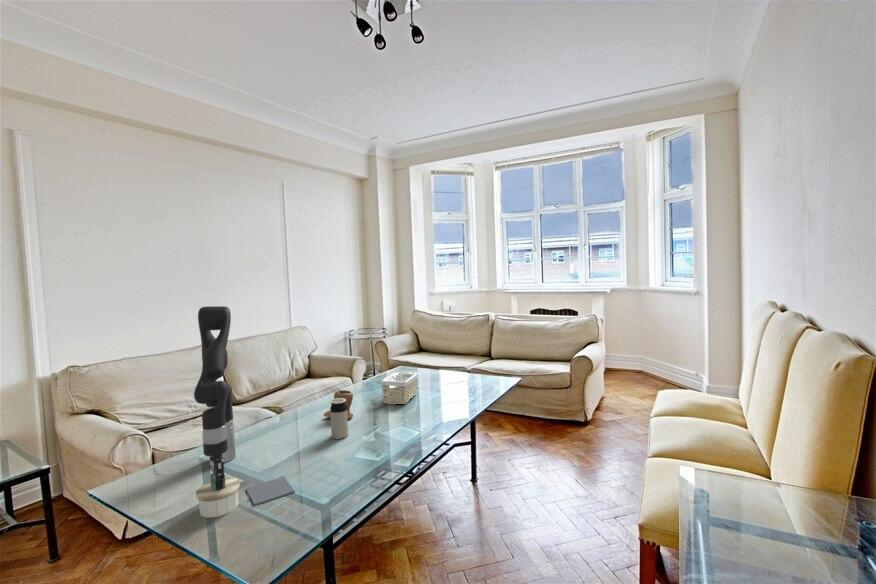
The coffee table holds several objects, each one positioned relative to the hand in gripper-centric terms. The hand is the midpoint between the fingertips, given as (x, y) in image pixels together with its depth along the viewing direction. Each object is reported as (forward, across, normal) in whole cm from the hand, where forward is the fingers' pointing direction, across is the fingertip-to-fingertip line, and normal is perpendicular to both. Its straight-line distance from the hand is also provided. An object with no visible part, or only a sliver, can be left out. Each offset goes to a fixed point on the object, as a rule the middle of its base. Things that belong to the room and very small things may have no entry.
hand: (218, 485), depth 147 cm
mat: (+8, 0, +17) cm, 19 cm away
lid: (+2, 0, 0) cm, 2 cm away
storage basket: (+8, -62, +111) cm, 127 cm away
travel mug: (+8, -32, +58) cm, 67 cm away
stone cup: (+8, -57, +69) cm, 90 cm away
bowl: (+8, 0, 0) cm, 8 cm away
